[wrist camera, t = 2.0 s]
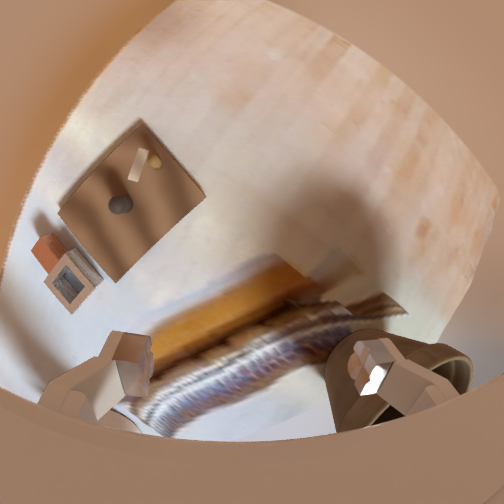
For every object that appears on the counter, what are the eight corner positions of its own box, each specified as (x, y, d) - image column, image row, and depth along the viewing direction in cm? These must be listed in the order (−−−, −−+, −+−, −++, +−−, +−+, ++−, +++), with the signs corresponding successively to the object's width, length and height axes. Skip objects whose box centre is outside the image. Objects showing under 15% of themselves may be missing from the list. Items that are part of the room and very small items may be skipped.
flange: (103, 279, 36) (94, 287, 33) (81, 305, 36) (71, 314, 32) (58, 225, 33) (46, 228, 30) (38, 253, 33) (26, 258, 29)
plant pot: (274, 399, 46) (312, 487, 25) (336, 285, 44) (425, 344, 23) (363, 409, 52) (411, 467, 31) (418, 319, 50) (489, 362, 29)
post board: (118, 280, 37) (105, 294, 31) (61, 212, 33) (41, 215, 27) (206, 197, 37) (207, 196, 31) (144, 126, 34) (135, 114, 27)
